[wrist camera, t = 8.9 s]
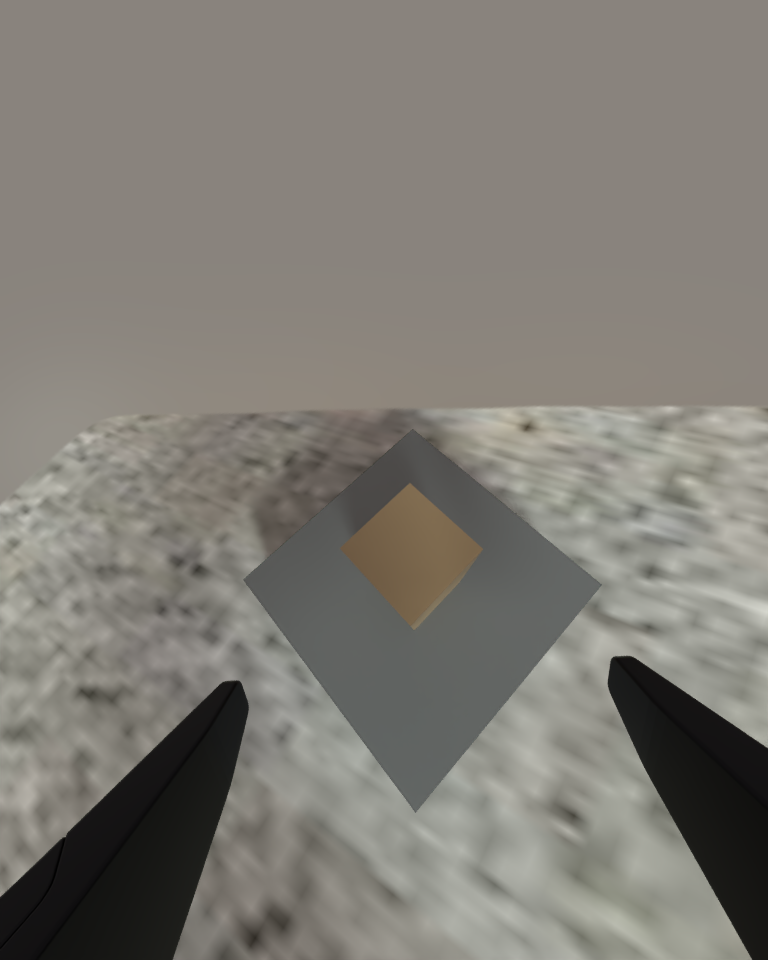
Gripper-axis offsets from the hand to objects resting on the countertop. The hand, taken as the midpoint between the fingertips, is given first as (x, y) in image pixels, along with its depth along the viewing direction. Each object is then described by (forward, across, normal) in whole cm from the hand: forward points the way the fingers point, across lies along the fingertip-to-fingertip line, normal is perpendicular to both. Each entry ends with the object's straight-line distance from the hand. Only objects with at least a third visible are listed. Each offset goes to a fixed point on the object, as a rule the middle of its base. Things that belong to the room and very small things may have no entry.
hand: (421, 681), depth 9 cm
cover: (+11, 0, +6) cm, 12 cm away
